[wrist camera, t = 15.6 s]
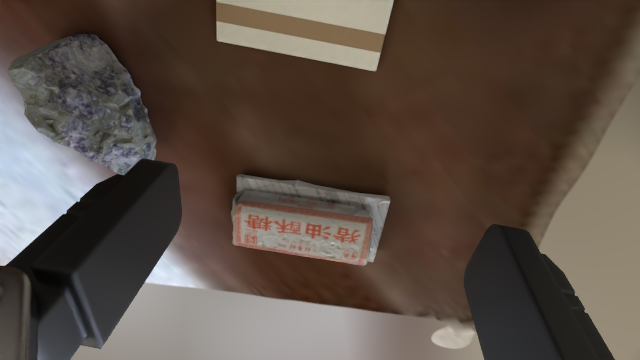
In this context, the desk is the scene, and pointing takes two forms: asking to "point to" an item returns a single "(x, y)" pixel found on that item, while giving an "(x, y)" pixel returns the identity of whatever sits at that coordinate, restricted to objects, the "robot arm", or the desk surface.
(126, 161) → the mineral rock
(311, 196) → the packaged product
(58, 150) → the desk surface
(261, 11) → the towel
